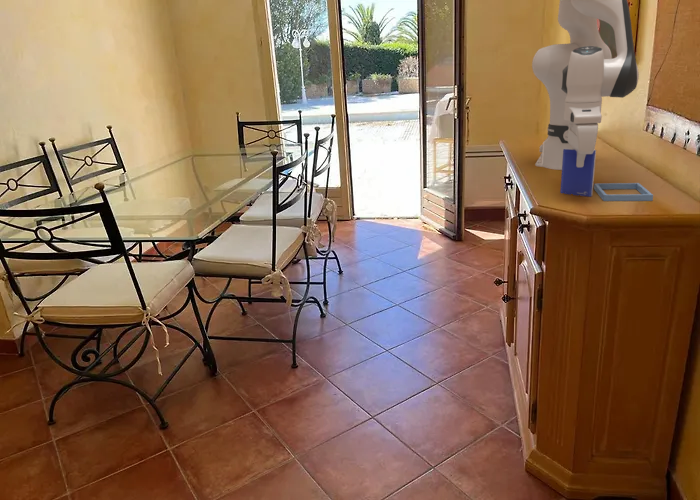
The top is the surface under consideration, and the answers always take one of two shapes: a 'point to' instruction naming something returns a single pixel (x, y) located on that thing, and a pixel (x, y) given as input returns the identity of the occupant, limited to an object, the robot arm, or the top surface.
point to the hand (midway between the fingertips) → (578, 165)
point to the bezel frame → (643, 196)
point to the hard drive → (577, 174)
